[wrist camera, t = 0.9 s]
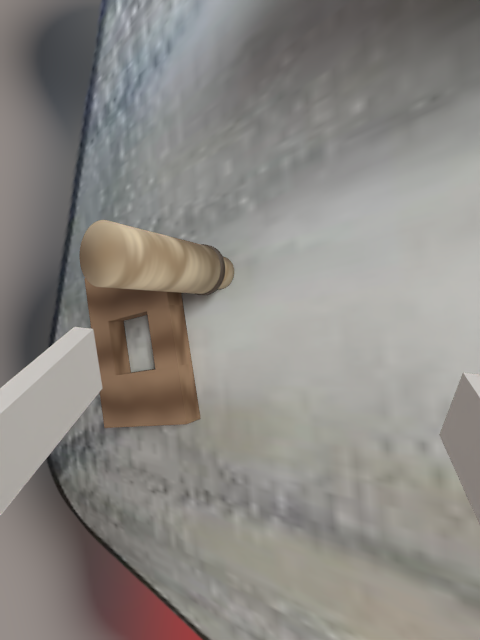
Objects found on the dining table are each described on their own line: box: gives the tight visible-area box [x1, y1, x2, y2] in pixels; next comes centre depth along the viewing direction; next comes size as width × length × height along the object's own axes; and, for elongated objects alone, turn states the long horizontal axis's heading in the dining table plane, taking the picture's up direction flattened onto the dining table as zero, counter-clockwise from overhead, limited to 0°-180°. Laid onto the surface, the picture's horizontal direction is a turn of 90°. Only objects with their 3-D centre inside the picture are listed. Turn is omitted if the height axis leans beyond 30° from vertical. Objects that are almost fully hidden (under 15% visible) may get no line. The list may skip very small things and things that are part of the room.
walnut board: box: [85, 278, 200, 428], centre depth 47 cm, size 20×14×2 cm
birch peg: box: [80, 220, 234, 295], centre depth 35 cm, size 5×5×16 cm
